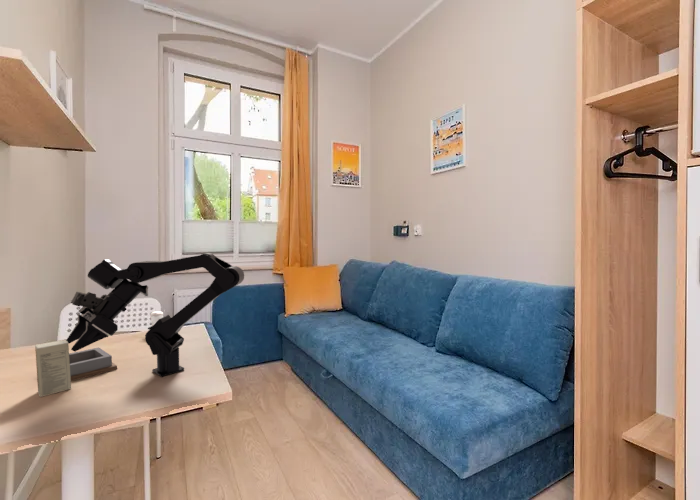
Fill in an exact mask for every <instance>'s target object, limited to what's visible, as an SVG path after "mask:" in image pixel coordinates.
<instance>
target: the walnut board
mask: <svg viewBox="0 0 700 500" xmlns="http://www.w3.org/2000/svg"><path fill="white" fill-rule="evenodd" d="M115 370H118V364H115V363H114V362H112V366H110V367H106V368H102V369H98V370H94V371H90V372H86V373H81V374H77V375H73V376H70V377H71V382H72V381H76V380H81V379H85V378H88V377H92V376H97V375H99V374H103V373H107V372H111V371H115Z"/></svg>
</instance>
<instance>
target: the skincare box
mask: <svg viewBox="0 0 700 500" xmlns="http://www.w3.org/2000/svg"><path fill="white" fill-rule="evenodd" d="M69 347H70V346H69V343H68V341H67V338H66V339H61V340H54V341H48V342H43V343H38V344H35V345H34V348H35V363H36V364H35V365H36V378H37V391H38V396H39V398H40V397H41V398H42V397H45V396H49V395H53V394H56V393H61V392H63V391H68V390H71V389H72V381H71V377H70V361H69V353H70V351H69V350H70V348H69Z"/></svg>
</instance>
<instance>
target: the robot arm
mask: <svg viewBox="0 0 700 500" xmlns="http://www.w3.org/2000/svg"><path fill="white" fill-rule="evenodd" d="M201 268H203V269H204V270H206V271H207V272H208V273H209V274H210V275H211V276H213V278H214V279H213V280H212V282H211V284H210V285H209V286H208V287H207V288H206V289H205V290H204V291H202V292H201V293H199V295H197V296H196V297H195V298H194V299H192V300H191V301H190V302H189V303H188V304H186V305H185V306H184V307H183V308H182V309H179V311H177V312H176V314H174V315H173V316H172V317H171V315H169V314H167V315H165V316H163V318H161V319H159V320H158V321H157V322H156V323H155V324H154V325H153V326H152V325H151V326H149V327H147V330H148V331H147V332H145V335H144V336H145V337H144V338H145V343H146V345H148V346H149V349H150V352H151V354H152V356H156V365H157V366H156V368H153V369H152V372H153V373H155V374H156V375H158V376H159V377H165V376H168V375H169V376H170V375H172V374H175V373H178V372H182V371H184V370H185V367H183V366H182V365H180V348H179V347H181V346H182V345H183V344H184V341H185V338H184V337H183V336H182V335H181V334H180V333H179V332H180V331H181V330H182V328H183V327H184V325H185V324H186V323H187V322H190V320H191V319H193V318H194V317H195V316H196V315H197V314H198V313H200V312H202V310H204V309H206V307H208V306H209V305H210V304H211V303H212V302H213V301H214V300H216V299H217V298H218V297H219V296H220V295H222V294H224V293H227V292H228V291H229V290H231V289H232V288H235V287H236V286H238V285H240V284H241V283H242V282H243V281H244V280H245V272H244V271H243V269H242V268H241V267H239V266H237V265H235V266H234V265H232V264H230V263H228V262H227V261H224V260H223V259H221V258H219V257H217V256H216V255H214V253H211V252H206V253H201V254H200V255H195V256H189V257H184V258H183V257H182V258H177V259H171V260H165V261H164V260H163V261H162V260H145V261H137V262H133V263H132V262H131V263H130V264H129V265H128V266H127V268H123V269H122V268H120V267H119V266H117V265H116V264H115V263H114V262H113V261H112V260H110V259H109V258H108V259H103V260H102V261H101V262H100V263H98V264H97V265H95V266H94V267H93V268H91V269H90V270H89V271H88V273H87V278H88V279H90V280H91V281H93V282H95V283H96V284H97V285H99V286H100V287H102V288H103V289H105V290H109V289H111V291H110V292H109V293H107V294H103V295H101V296H100V297H98V296H97V294H96V293H93V292H90V291H88V292H87V293H83V292H80V291H76V292H75V294H74V296H73V298H72V300H71V301H70V303H71V304H72V305H73V306H76V307H81V308H80V309H78V310H77V312H79V313H77V322H76V325H75V326H74V328H73V329H72V330H71V332H70V334H69V335H68V337H67V338H66V340H67V341H68V344H71V343H73V342H75V343H74V345H73V346H72V347H71V351H73V353H74V352H78V351H79V350H80V351H81V350H82V349H83V348H86V347H87V346H90V345H91V344H94V343H97V342H98V341H101V340H103V339H105V338H109V336H112V337H113V335H114V334H115V333H116V332H117V331H118V324H117V323H115V320H114V319H115V318H116V317H118V316H119V315H120V313H121V312H125V311H126V310H127V307H128V305H130V304H131V302H133V300H134V299H136V298H137V296H138V295H140V294H142V295H144V296H145V297H148V296H149V292H148V291H149V286H148V285H145V284H144V285H142V284H141V283H144V282H147V281H151V280H153V279H157V278H159V277H162V276H164V275H167V274H173V273H179V272H185V271H191V270H194V269H201Z"/></svg>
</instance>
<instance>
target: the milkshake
mask: <svg viewBox="0 0 700 500" xmlns="http://www.w3.org/2000/svg"><path fill="white" fill-rule="evenodd" d="M165 311H166V309H164V310H163V311H160V310H158V311H157V310H155V311H152V312H151V313H150V315H149V317H150V321H151V322H150V323H151V326H153V325H154V324H155V323H156V322H157V321H158V320H159V319H161V318H163V317H164V314H165Z"/></svg>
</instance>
